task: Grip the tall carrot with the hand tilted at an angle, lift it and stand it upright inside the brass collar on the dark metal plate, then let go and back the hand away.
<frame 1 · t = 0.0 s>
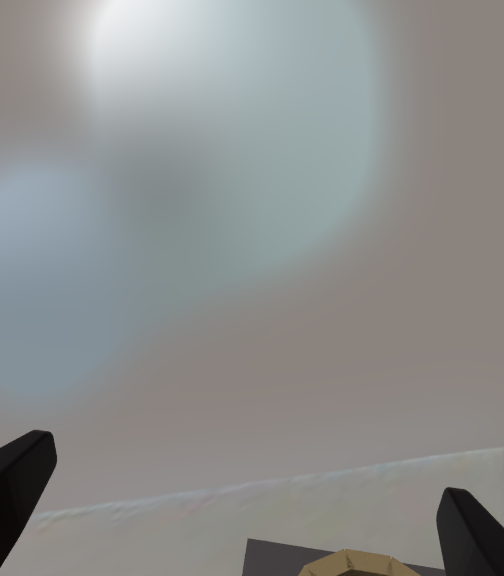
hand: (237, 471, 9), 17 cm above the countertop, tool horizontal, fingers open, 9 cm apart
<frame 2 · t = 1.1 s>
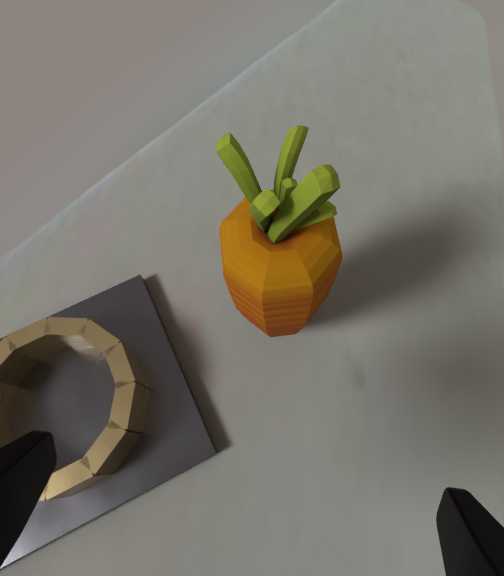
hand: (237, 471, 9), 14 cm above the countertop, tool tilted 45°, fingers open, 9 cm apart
carrot: (279, 326, 25), on the countertop
collar plate: (76, 408, 23), on the countertop
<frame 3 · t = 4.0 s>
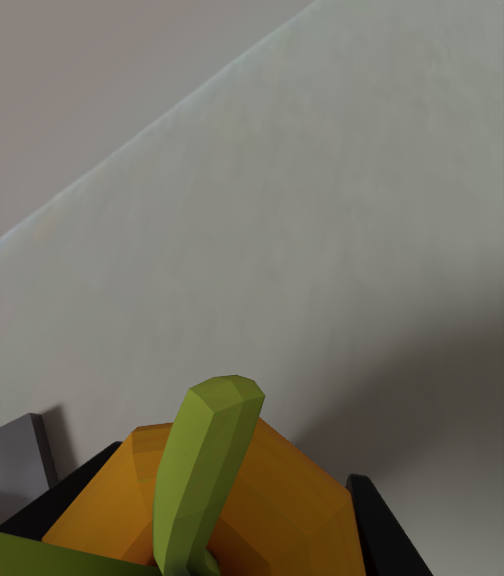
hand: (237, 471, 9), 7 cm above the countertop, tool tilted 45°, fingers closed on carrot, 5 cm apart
carrot: (251, 504, 15), on the countertop, touching gripper
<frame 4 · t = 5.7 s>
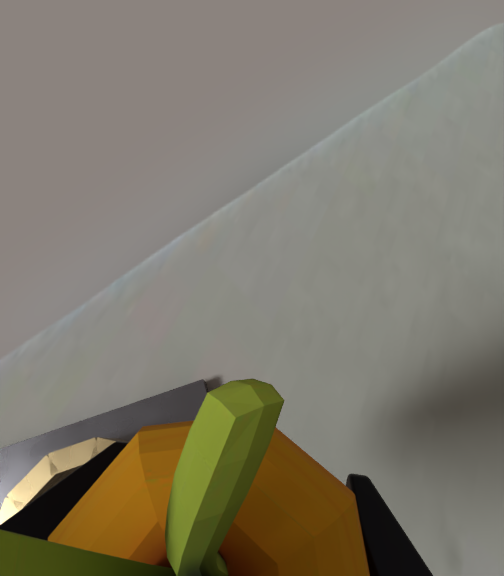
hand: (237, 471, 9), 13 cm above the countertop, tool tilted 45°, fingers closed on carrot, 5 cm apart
carrot: (248, 502, 15), point 6 cm above the countertop, touching gripper
collar plate: (115, 535, 20), on the countertop
when the fingers open (9 cm above the countertop, at t = 7.7 s): carrot drops 1 cm, resting on collar plate.
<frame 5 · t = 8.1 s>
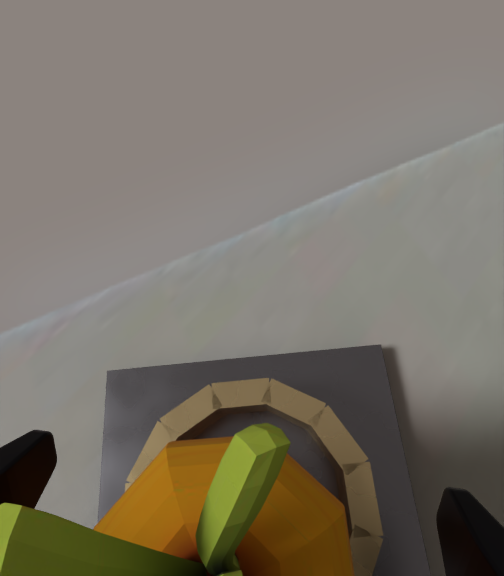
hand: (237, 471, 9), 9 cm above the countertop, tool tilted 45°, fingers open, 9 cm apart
carrot: (249, 506, 16), point 1 cm above the countertop, touching collar plate
collar plate: (254, 499, 17), on the countertop
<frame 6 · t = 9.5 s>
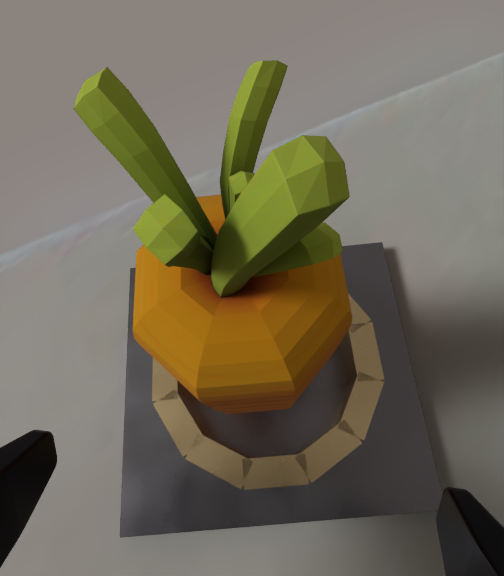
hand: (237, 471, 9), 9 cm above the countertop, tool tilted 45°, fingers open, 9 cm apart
carrot: (263, 377, 18), point 1 cm above the countertop, touching collar plate
collar plate: (266, 375, 19), on the countertop
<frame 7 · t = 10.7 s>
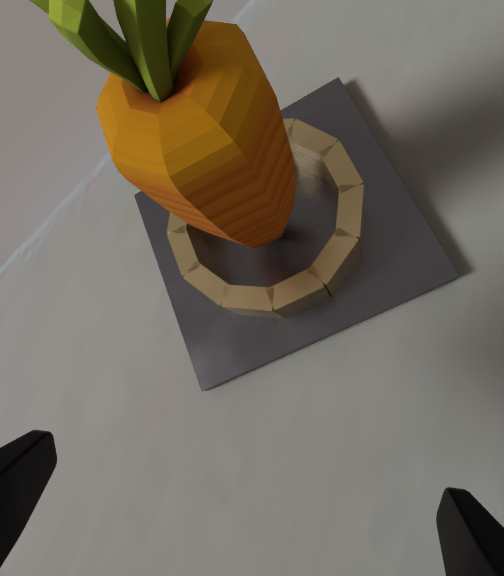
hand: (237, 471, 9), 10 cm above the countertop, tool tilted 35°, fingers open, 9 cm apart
carrot: (271, 235, 20), point 1 cm above the countertop, touching collar plate
collar plate: (276, 234, 21), on the countertop
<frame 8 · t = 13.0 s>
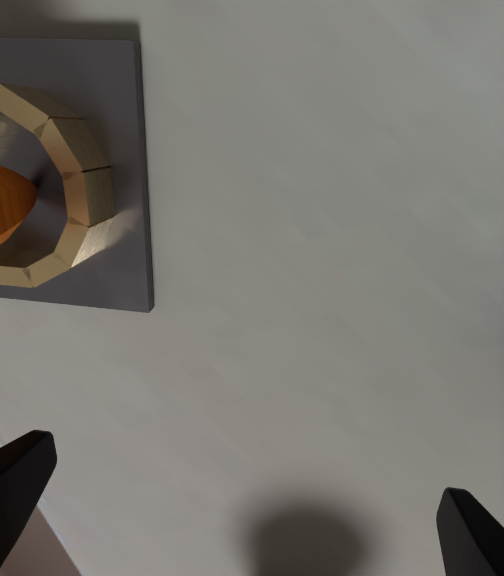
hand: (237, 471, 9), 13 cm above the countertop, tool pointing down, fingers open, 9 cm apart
carrot: (35, 188, 20), point 1 cm above the countertop, touching collar plate
collar plate: (38, 183, 21), on the countertop
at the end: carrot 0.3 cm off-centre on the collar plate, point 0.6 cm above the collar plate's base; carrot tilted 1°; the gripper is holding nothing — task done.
